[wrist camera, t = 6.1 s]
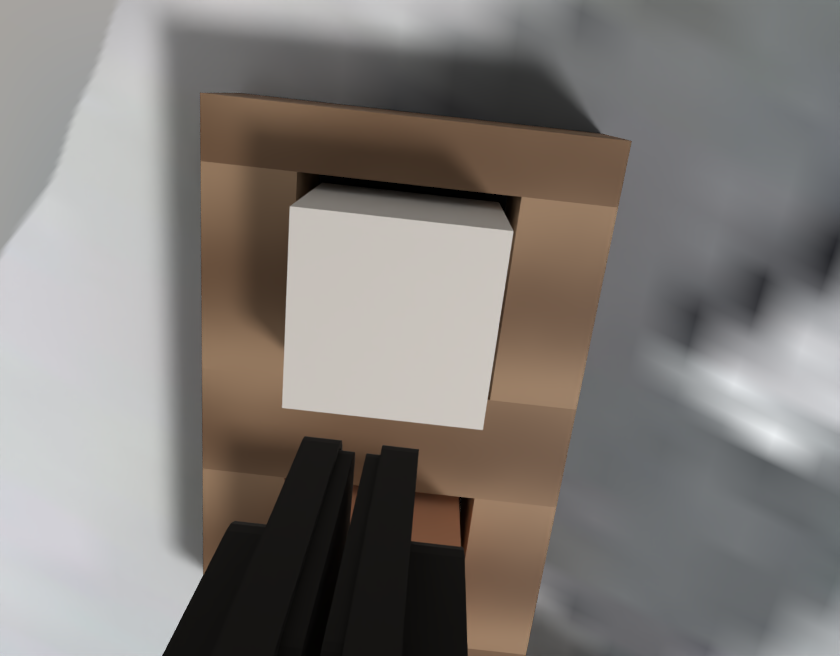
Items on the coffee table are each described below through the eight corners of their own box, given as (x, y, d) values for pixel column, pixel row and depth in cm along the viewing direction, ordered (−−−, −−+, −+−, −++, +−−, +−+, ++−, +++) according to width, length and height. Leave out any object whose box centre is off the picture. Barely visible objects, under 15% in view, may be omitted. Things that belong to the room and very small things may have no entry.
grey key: (322, 182, 22) (289, 206, 18) (498, 202, 22) (513, 231, 18) (313, 346, 24) (281, 407, 20) (475, 364, 24) (482, 429, 20)
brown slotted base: (239, 93, 24) (200, 93, 20) (601, 133, 24) (631, 141, 20) (233, 589, 31) (203, 657, 27) (509, 619, 31) (518, 692, 27)
